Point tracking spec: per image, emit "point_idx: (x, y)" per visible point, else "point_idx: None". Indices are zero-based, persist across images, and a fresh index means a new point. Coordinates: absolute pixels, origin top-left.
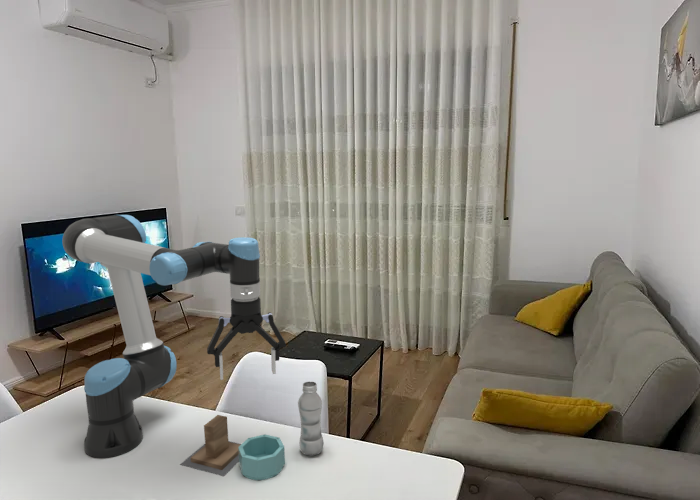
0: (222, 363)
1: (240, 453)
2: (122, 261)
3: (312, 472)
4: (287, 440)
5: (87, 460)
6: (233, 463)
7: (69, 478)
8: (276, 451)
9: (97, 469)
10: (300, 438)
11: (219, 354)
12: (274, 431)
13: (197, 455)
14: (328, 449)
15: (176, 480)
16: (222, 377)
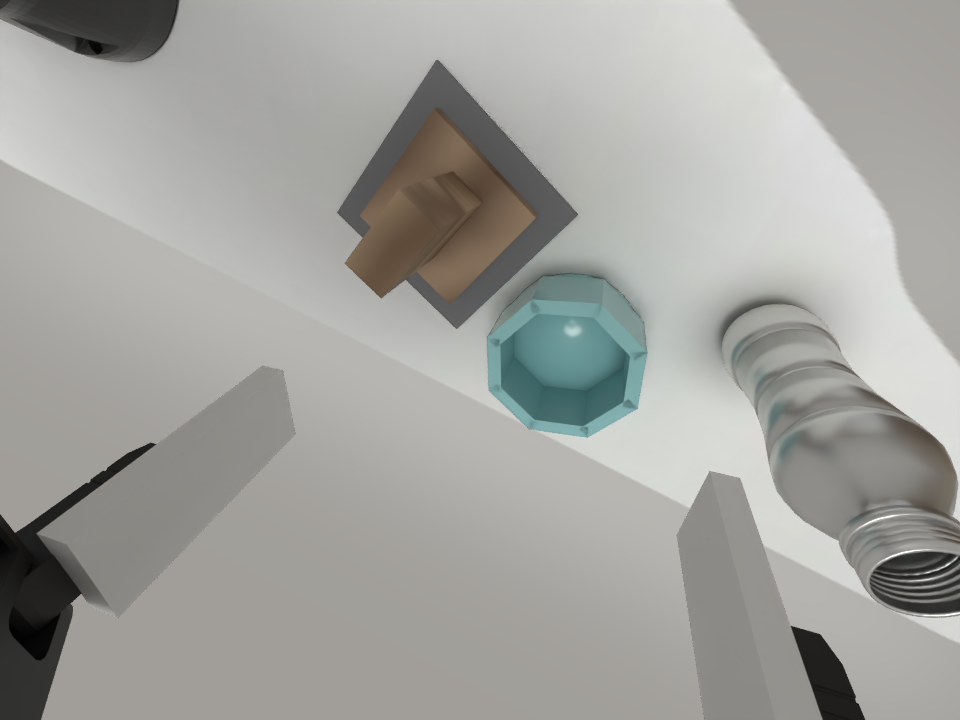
0: (190, 541)
1: (488, 368)
2: None
3: (699, 424)
4: (725, 218)
5: None
6: (490, 282)
7: (80, 143)
8: (600, 420)
9: (125, 124)
10: (735, 358)
11: (71, 578)
12: (710, 111)
13: (379, 211)
14: None
15: (340, 281)
16: (279, 444)
